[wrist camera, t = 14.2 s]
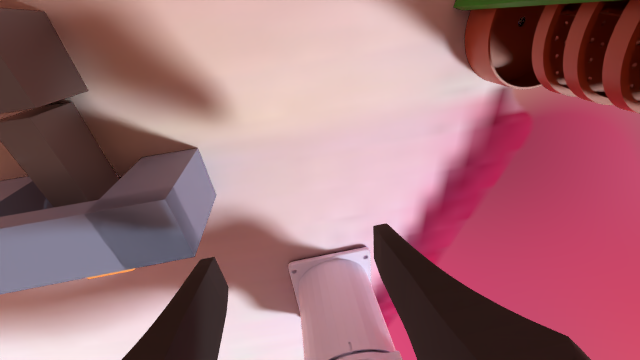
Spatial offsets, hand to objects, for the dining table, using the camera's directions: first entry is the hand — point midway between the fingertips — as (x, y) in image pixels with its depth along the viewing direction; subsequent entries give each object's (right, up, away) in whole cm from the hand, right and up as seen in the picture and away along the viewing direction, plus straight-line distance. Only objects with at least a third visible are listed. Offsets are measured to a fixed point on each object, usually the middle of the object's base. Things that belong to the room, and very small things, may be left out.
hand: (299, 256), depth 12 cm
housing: (-14, +3, +7) cm, 16 cm away
